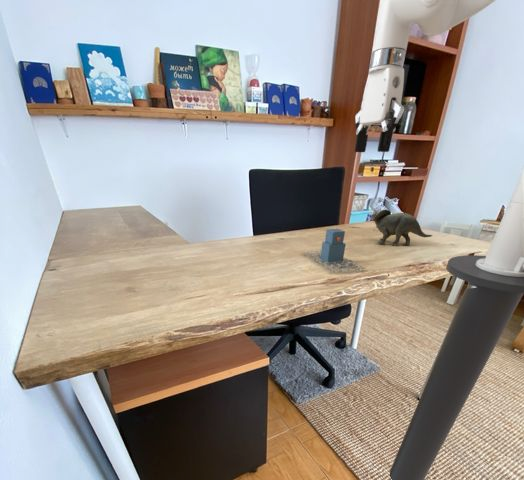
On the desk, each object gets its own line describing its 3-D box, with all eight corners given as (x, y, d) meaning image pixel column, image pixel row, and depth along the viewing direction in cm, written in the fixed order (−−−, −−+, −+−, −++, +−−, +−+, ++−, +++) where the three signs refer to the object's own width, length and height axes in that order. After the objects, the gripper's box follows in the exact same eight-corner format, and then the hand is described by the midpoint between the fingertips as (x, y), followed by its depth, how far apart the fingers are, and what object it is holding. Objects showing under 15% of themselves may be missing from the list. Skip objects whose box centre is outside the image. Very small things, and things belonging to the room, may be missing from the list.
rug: (333, 274, 74) (334, 270, 74) (301, 253, 90) (301, 250, 89) (366, 270, 77) (367, 267, 76) (330, 251, 92) (330, 248, 92)
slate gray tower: (343, 262, 82) (348, 231, 78) (328, 264, 81) (332, 232, 76) (335, 258, 86) (339, 228, 81) (320, 259, 84) (323, 229, 80)
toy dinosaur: (429, 247, 99) (441, 210, 93) (422, 252, 94) (434, 213, 88) (367, 237, 111) (374, 204, 105) (358, 240, 105) (364, 206, 99)
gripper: (427, 56, 63) (405, 151, 72) (375, 73, 77) (362, 152, 86) (400, 51, 61) (380, 151, 70) (351, 70, 74) (340, 152, 84)
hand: (370, 151), depth 78 cm, fingers open, 9 cm apart
